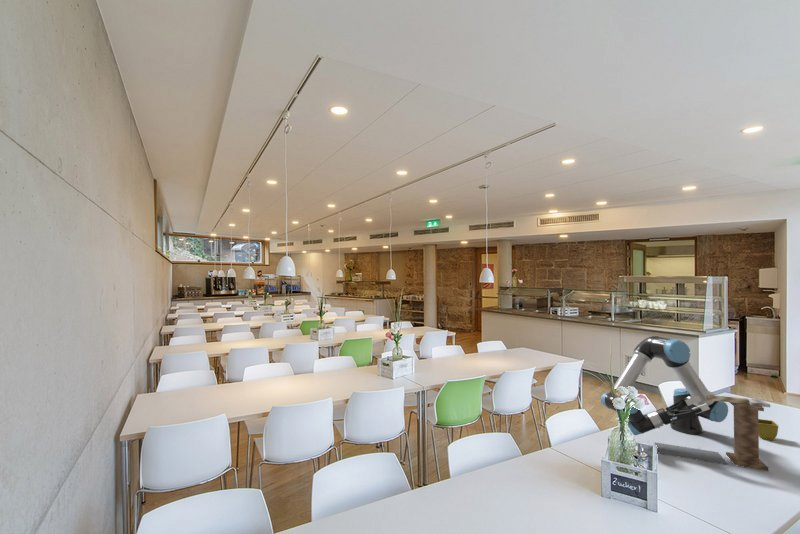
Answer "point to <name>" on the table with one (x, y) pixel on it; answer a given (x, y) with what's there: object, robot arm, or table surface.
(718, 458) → the mat
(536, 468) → the table surface
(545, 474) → the table surface
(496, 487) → the table surface
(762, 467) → the pedestal
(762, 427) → the flower pot
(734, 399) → the bar
